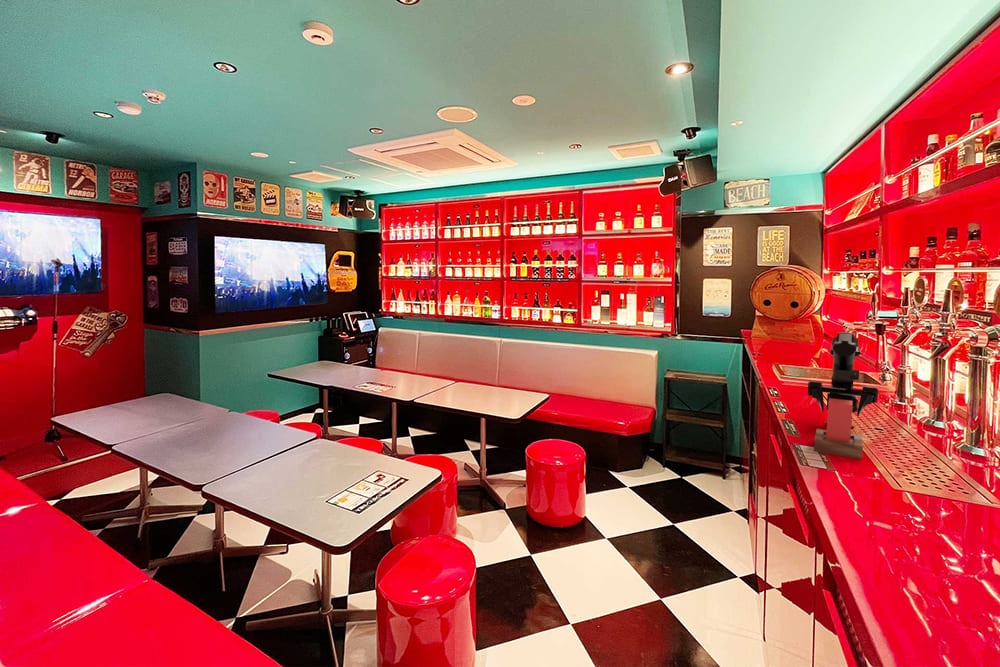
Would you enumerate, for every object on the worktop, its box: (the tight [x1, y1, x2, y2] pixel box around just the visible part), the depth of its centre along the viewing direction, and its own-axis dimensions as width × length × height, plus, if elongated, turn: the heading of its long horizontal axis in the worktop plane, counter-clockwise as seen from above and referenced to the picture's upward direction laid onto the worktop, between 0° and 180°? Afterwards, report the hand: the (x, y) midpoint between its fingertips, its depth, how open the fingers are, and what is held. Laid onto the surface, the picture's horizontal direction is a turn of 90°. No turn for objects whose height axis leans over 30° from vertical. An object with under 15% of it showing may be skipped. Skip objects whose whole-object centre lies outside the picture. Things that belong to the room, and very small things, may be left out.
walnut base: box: [813, 428, 864, 460], centre depth 148 cm, size 12×12×4 cm
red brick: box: [826, 398, 853, 442], centre depth 148 cm, size 6×6×12 cm
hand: (840, 413), depth 152 cm, fingers open, 9 cm apart
